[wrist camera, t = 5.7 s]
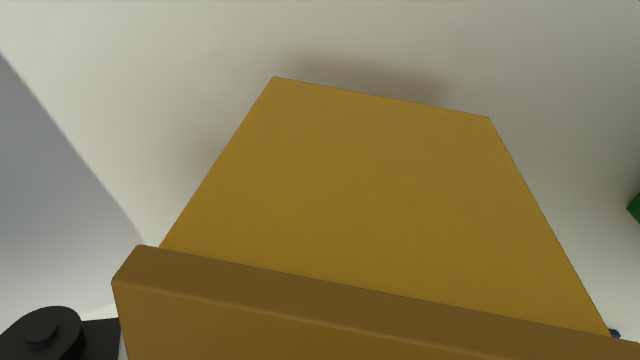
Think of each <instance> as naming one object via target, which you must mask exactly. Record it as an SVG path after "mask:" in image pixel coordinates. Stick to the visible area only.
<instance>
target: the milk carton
mask: <svg viewBox="0 0 640 360" xmlns="http://www.w3.org/2000/svg"><path fill="white" fill-rule="evenodd" d="M626 209H627V210H628V211H629V212H630V214H631V215H632V216H633V217H634V218H635V219H636V220H637V221H638V223H639V224H640V194H639V195H638V196H637V197H636V198H635V200H634V201H633V202H632V203H631V204H630V205H629V206H628V207H627V208H626Z"/></svg>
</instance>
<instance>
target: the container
mask: <svg viewBox="0 0 640 360" xmlns="http://www.w3.org/2000/svg"><path fill="white" fill-rule="evenodd" d="M111 285H112V290H113V294H114V299H115V303H116V308H117V312H118V317H119V321H120V326H121V330H122V335H123V339H124V344H125V348H126V353H127V357H128V360H640V343H638V342H633V341H628V340H623V339H618V338H613V337H612V335H611V333H610V332H609V330H608V328H607V326H606V325H605V323H604V321H603V319H602V318H601V316H600V314H599V312H598V310H597V309H596V307H595V305H594V303H593V302H592V300H591V298H590V296H589V294H588V293H587V291H586V289H585V287H584V286H583V284H582V282H581V280H580V278H579V277H578V275H577V273H576V271H575V270H574V268H573V266H572V264H571V263H570V261H569V259H568V257H567V255H566V254H565V252H564V250H563V248H562V247H561V245H560V243H559V241H558V239H557V238H556V236H555V234H554V232H553V231H552V229H551V227H550V225H549V223H548V222H547V220H546V218H545V216H544V215H543V213H542V211H541V209H540V208H539V206H538V204H537V202H536V200H535V199H534V197H533V195H532V193H531V192H530V190H529V188H528V186H527V184H526V183H525V181H524V179H523V177H522V176H521V174H520V172H519V170H518V168H517V167H516V165H515V163H514V161H513V160H512V158H511V156H510V154H509V153H508V151H507V149H506V147H505V145H504V144H503V142H502V140H501V138H500V137H499V135H498V133H497V131H496V129H495V128H494V126H493V124H492V122H491V121H490V119H489V118H488V117H487V116H481V115H476V114H471V113H465V112H460V111H455V110H449V109H444V108H439V107H434V106H428V105H423V104H418V103H412V102H407V101H402V100H396V99H391V98H386V97H380V96H375V95H370V94H364V93H359V92H354V91H349V90H343V89H338V88H333V87H327V86H322V85H317V84H311V83H306V82H301V81H295V80H290V79H285V78H279V77H272V78H271V80H270V81H269V83H268V84H267V86H266V87H265V89H264V90H263V92H262V93H261V95H260V96H259V98H258V99H257V101H256V102H255V104H254V105H253V107H252V108H251V110H250V111H249V113H248V114H247V116H246V117H245V119H244V120H243V122H242V123H241V125H240V126H239V128H238V129H237V131H236V132H235V134H234V135H233V137H232V138H231V140H230V141H229V143H228V144H227V146H226V147H225V149H224V150H223V152H222V153H221V155H220V156H219V158H218V159H217V161H216V162H215V164H214V165H213V167H212V168H211V170H210V171H209V173H208V174H207V176H206V177H205V179H204V180H203V182H202V183H201V185H200V186H199V188H198V189H197V191H196V192H195V194H194V195H193V197H192V198H191V200H190V201H189V203H188V204H187V206H186V207H185V208H184V210H183V211H182V213H181V214H180V216H179V217H178V219H177V220H176V222H175V223H174V225H173V226H172V228H171V229H170V231H169V232H168V234H167V235H166V237H165V238H164V240H163V241H162V243H161V244H160V246H159V247H158V248H157V247H152V246H147V245H142V244H141V245H137V246H136V247H135V248H134V250H133V251H132V252H131V254H130V255H129V256H128V258H127V259H126V260H125V262H124V263H123V265H122V266H121V267H120V269H119V270H118V271H117V273H116V274H115V275H114V277H113V278H112V281H111Z"/></svg>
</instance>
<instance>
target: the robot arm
mask: <svg viewBox="0 0 640 360" xmlns="http://www.w3.org/2000/svg"><path fill="white" fill-rule="evenodd" d="M0 360H128V357H127V353H126V348H125V344H124V339H123V335H122V330H121V326H120V321H119V317H117V318H110V319H99V320H88V321H81V319H80V316H79V315H78V314H77V312H75V311H74V310H72V309H70V308H68V307H64V306H49V307H44V308H40V309H38V310H35V311H32V312H30V313H28V314H26V315H25V316H23V317H21V318H20V319H19V320H17V321H16V322H15V323H14V324H12V325H11V326H10V327H9V328H8V329H7V330H6V331H4V332H3V333H2V334H1V335H0Z"/></svg>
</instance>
